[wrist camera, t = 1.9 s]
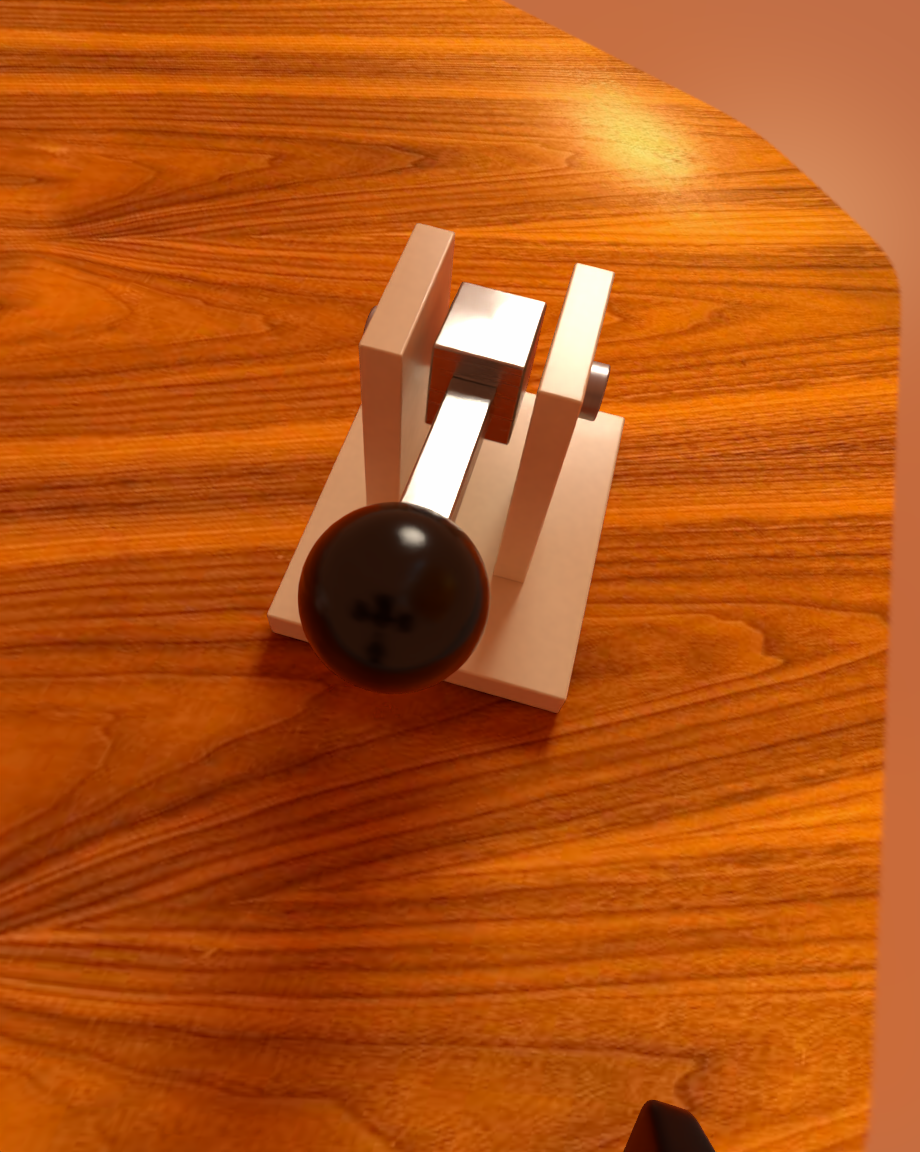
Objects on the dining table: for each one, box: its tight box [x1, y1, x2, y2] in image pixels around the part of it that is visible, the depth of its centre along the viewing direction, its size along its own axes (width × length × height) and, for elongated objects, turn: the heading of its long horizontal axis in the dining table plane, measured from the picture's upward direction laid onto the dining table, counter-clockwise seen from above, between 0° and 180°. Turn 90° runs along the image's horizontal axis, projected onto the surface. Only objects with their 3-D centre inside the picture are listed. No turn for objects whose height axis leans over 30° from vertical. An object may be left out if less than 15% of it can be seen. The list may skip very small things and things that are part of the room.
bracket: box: [267, 223, 625, 713], centre depth 21 cm, size 11×9×9 cm
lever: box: [298, 282, 547, 694], centre depth 16 cm, size 11×4×4 cm, turn 165°
